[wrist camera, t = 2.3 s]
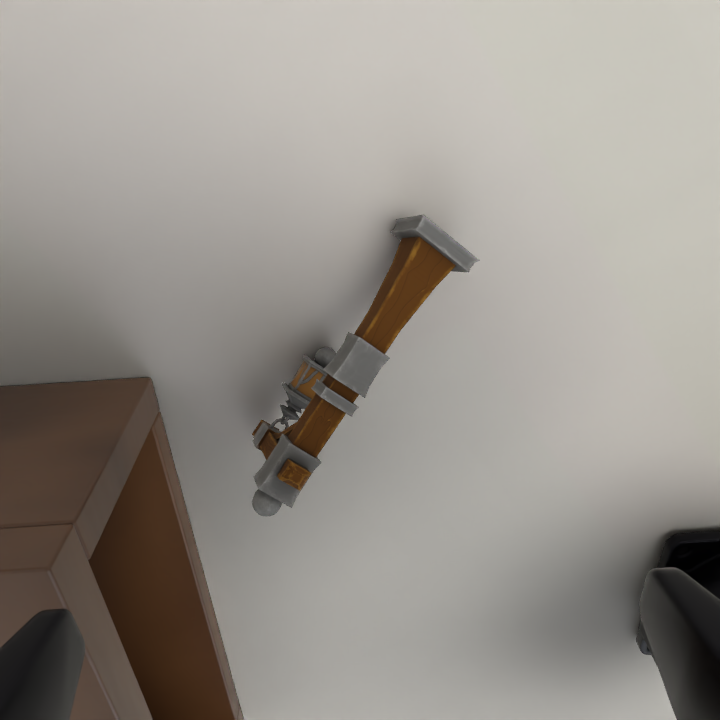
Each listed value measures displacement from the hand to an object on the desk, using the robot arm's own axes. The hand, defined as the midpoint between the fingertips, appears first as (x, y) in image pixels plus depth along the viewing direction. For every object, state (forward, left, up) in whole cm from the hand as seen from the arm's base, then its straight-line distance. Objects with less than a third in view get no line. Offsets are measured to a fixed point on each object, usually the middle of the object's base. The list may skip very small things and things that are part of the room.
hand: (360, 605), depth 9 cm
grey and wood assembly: (0, 0, -9) cm, 9 cm away
